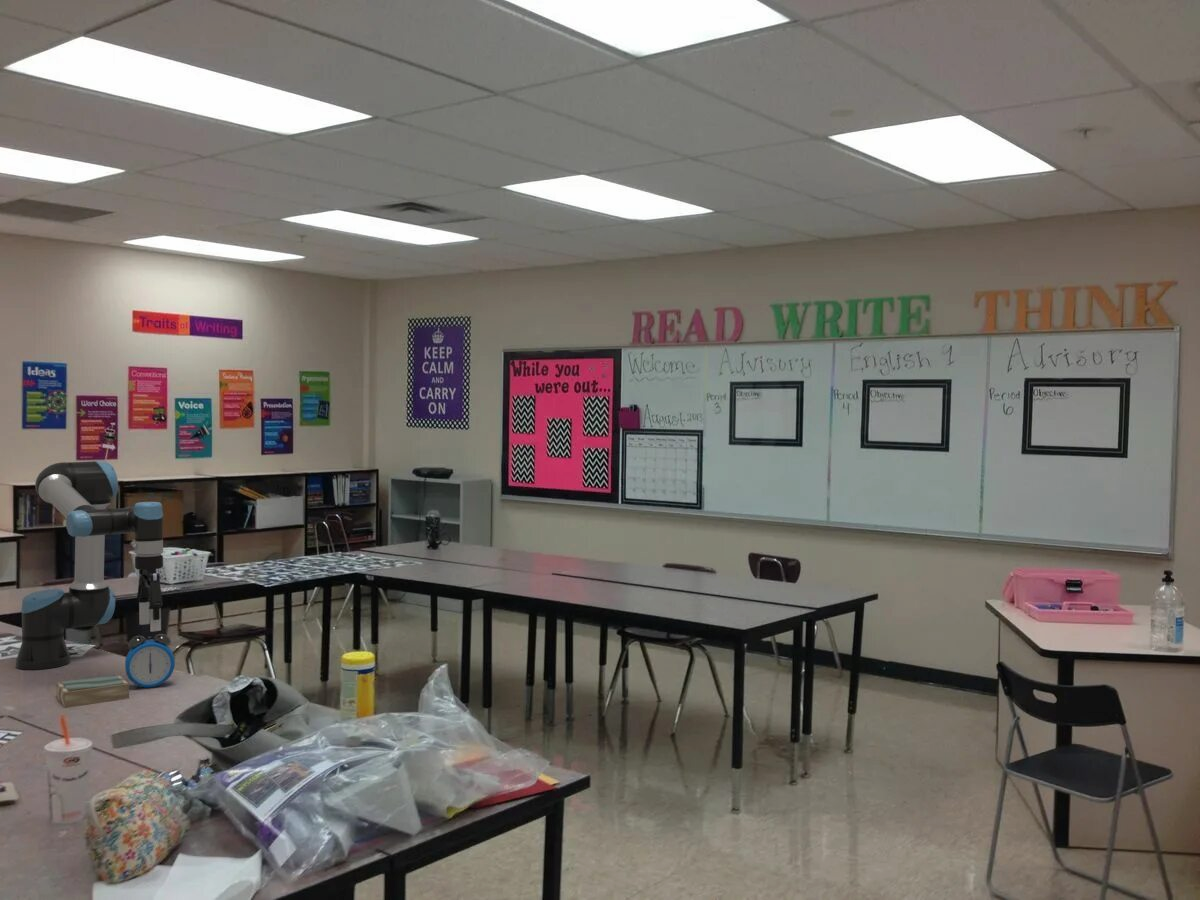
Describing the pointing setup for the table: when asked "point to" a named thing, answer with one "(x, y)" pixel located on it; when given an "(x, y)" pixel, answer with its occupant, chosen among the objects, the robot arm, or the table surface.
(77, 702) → the base
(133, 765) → the table surface
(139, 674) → the alarm clock
